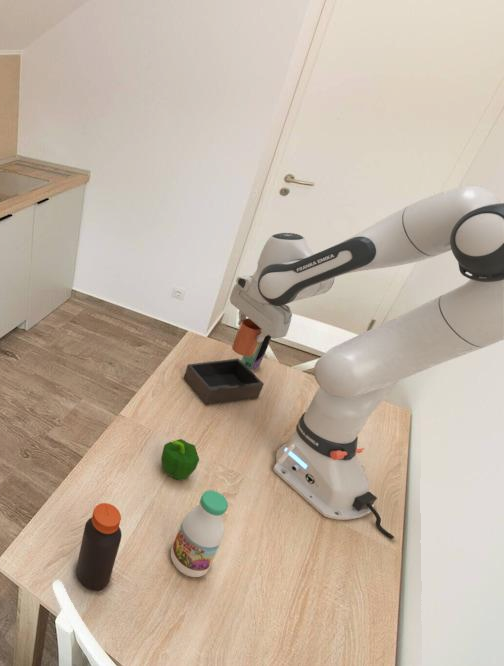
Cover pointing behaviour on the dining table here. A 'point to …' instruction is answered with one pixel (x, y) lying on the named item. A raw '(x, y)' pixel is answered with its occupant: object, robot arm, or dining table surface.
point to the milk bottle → (200, 535)
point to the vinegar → (99, 547)
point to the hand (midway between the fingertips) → (249, 333)
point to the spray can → (256, 355)
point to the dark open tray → (222, 381)
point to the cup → (246, 338)
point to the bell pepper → (179, 459)
